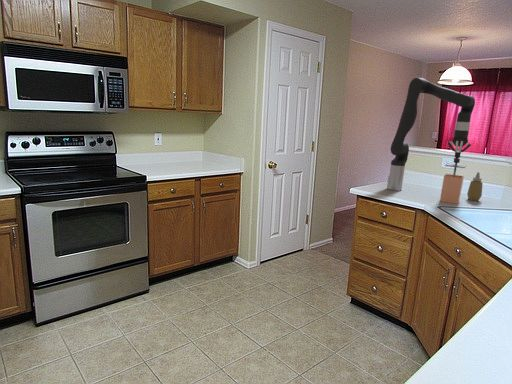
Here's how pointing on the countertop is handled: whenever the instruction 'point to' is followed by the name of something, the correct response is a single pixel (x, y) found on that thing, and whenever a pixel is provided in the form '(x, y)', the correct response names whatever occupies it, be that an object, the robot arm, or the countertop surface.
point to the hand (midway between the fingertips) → (457, 158)
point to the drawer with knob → (455, 165)
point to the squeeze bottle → (475, 188)
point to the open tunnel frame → (451, 188)
